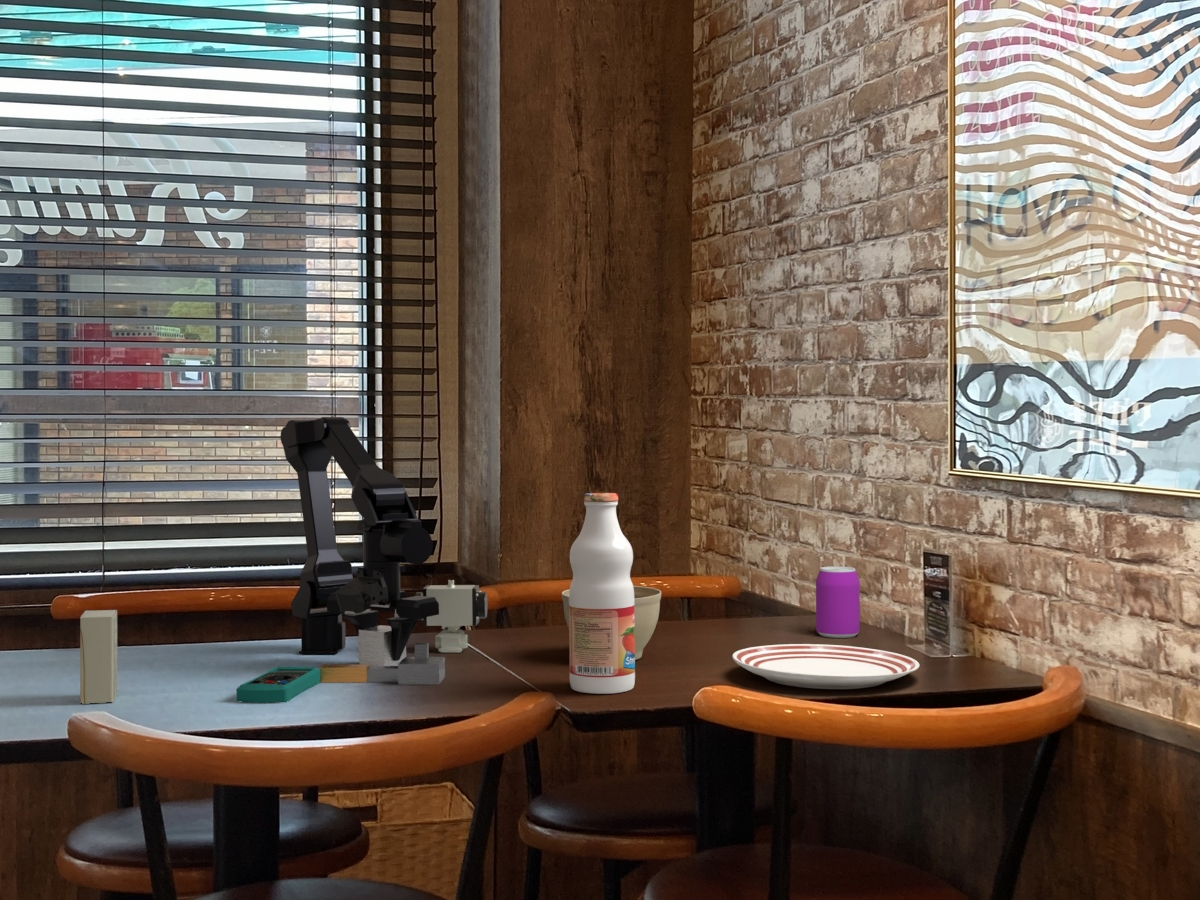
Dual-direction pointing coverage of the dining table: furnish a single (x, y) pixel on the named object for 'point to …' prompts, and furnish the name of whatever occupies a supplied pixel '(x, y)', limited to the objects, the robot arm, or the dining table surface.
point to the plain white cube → (377, 647)
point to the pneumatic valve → (455, 613)
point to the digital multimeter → (278, 684)
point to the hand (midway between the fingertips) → (382, 659)
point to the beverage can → (837, 602)
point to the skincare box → (98, 656)
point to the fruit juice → (601, 602)
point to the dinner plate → (824, 665)
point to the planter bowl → (636, 614)
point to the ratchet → (391, 670)
